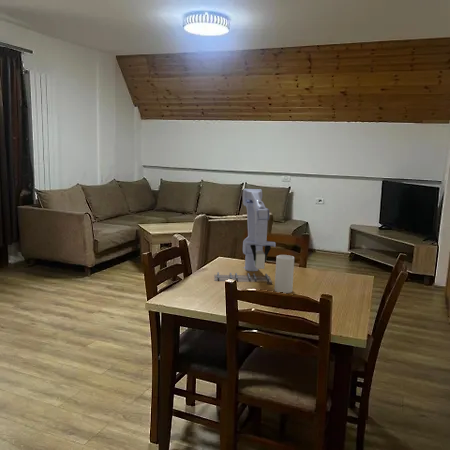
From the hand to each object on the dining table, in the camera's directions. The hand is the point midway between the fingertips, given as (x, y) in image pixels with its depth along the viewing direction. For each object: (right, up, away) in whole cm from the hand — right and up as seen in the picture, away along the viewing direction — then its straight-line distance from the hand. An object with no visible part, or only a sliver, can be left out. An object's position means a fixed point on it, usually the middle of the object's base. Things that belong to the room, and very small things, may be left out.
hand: (259, 260), depth 224 cm
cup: (+10, -13, -12) cm, 21 cm away
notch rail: (-8, -10, +1) cm, 13 cm away
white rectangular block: (0, -3, 0) cm, 3 cm away
